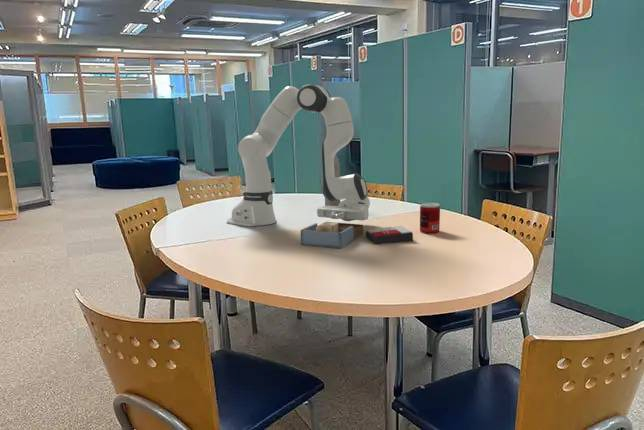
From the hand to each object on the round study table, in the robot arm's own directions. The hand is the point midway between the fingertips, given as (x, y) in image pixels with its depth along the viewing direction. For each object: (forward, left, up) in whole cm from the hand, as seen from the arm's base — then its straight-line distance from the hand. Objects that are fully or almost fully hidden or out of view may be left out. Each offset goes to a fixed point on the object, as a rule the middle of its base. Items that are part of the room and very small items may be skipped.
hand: (334, 216), depth 190 cm
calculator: (+20, +6, -9) cm, 23 cm away
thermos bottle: (-28, +59, -9) cm, 66 cm away
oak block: (0, -2, -5) cm, 5 cm away
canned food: (+31, +23, -9) cm, 40 cm away
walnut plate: (0, +4, -9) cm, 10 cm away
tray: (0, -7, -9) cm, 11 cm away
